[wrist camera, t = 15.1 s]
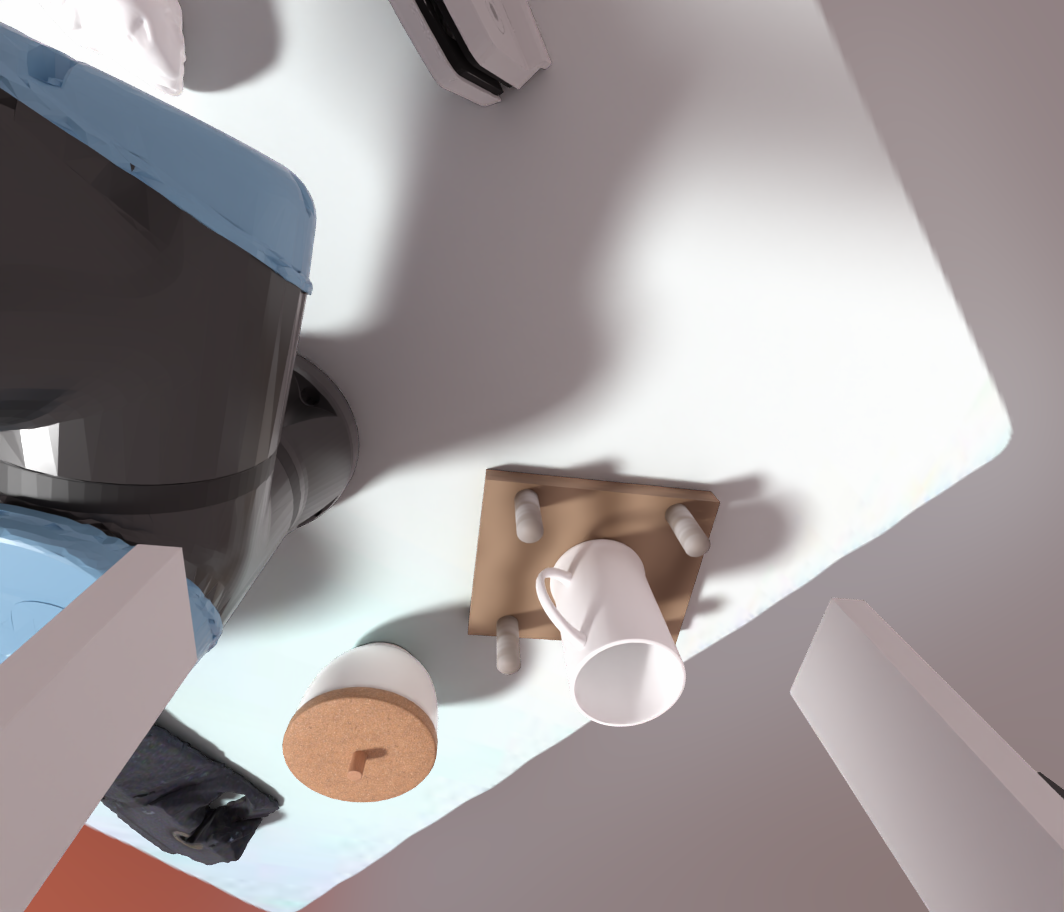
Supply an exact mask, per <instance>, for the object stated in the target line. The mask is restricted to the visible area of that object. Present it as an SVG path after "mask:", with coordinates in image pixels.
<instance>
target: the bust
mask: <svg viewBox="0 0 1064 912" xmlns="http://www.w3.org/2000/svg"><path fill="white" fill-rule="evenodd" d="M38 1H39V2H40V4H41V5H42V6H43V7H44V8H45V9H46V11H47V12H48V13H49V14H50V16H51V17H52V18H53V19H54V20H55V21H56V22H57V23H58V24H59V25H60V26H61V28H62V29H63V30H64V31H65V32H66V33H67V35H69V36H70V37H71V38H72V39H73V40H74V41H75V42H76V43H77V44H79V45H80V46H84V47H87V48H89V49H91V50H93V51H95V52H98V53H101V54H104V55H107V56H109V57H111V58H113V59H114V60H116V61H118V62H119V63H120V64H121V65H122V66H124V67H125V68H126V69H127V70H129V71H130V72H132V73H133V74H135V75H137V76H139V77H140V78H142V79H143V80H145V81H146V82H147V83H149V84H150V85H151V86H153V87H154V88H155V89H157V90H158V91H160V92H162V93H164V94H167V95H169V96H179V95H181V93H182V92H183V87H184V85H183V76H184V62H185V61H186V55H185V44H184V36H183V33H182V10H181V7H180V5H179V2H178V0H38Z"/></svg>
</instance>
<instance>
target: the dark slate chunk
mask: <svg viewBox="0 0 1064 912" xmlns="http://www.w3.org/2000/svg"><path fill="white" fill-rule="evenodd" d="M189 746H190V744H189V743H187V742H181V741H180V740H179V739H178V737H175V736H172V735H171V734H170V733H169V732H168V731H167V730H165V729H163V728H160V727H158V726H156V725H154V724H153V726H152V727H151V728H150V730H149V731H148V733H147V734H146V736H145V737H144V739H143V740H142V741H141V743H140V744H139V746H138V747H137V749H136V750H135V752H134V753H133V754H132V756H131V757H130V759H129V760H128V762H127V763H126V765H125V766H124V767H123V769H122V770H121V772H120V773H119V775H118V776H117V778H116V779H115V780H114V782H113V783H112V785H111V786H110V788H109V789H108V791H107V792H106V793H105V795H104V796H103V798H102V799H101V801H102V802H103V804H104V805H105V806H107V807H108V808H110V810H111V811H113V812H114V813H116V814H117V816H118V818H120V819H122V820H123V821H124V822H125V823H127V824H128V825H129V826H130V827H131V828H132V829H134V830H135V831H137V832H138V833H139V834H141V835H142V836H143V837H144V838H146V839H147V840H148V841H150V842H152V843H153V844H154V845H156V846H157V847H159V848H160V849H161V850H162V851H164V852H167V853H170V854H176V853H178V854H181V855H184V856H188V857H190V858H191V859H193V860H195V861H198V862H201V863H204V864H206V865H213V864H216V863H219V862H226V863H229V862H230V861H237V860H239V858H240V857H241V855H242V854H243V852H244V850H245V848H246V846H247V844H248V842H249V841H250V839H251V838H252V836H253V835H254V833H255V830H256V829H257V827H258V826H259V824H260V823H261V821H262V818H261V817H266V816H268V815H269V814H270V813H273V812H275V810H278V809H279V806H278V802H277V801H275V800H274V799H273V797H272V796H270V795H267V796H266V795H264V794H262V793H261V792H260V791H259V790H258V789H257V788H255V787H254V786H253V785H252V784H251V783H250V782H248V781H247V780H246V779H245V778H244V777H243V776H241V775H238V774H236V773H235V772H234V771H233V770H232V769H230V768H226V767H225V764H222V763H219V762H214V761H211V760H210V759H208V758H207V757H205V756H204V755H203V754H202V753H201V752H200V751H198V750H197V749H194V748H190V747H189ZM224 792H235V793H239V794H244V795H246V796H244V797H242V798H241V799H238V800H236V801H231V802H229V803H227V806H221V807H219V808H217V809H210V807H209V806H208V805H210V804H211V802H212V801H214V800H215V799H216V798H218V797H219V796H220V795H221V794H222V793H224Z"/></svg>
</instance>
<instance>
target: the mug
mask: <svg viewBox="0 0 1064 912" xmlns="http://www.w3.org/2000/svg"><path fill="white" fill-rule="evenodd" d="M545 578H550V589H551V593H552V596H553V598H554V600H555V603H556V607H555V606H554V604H553V602H552V601H551V599H550V597H549V595H548V593H547V590H546V587H545V582H544V580H545ZM536 591H537V595H538V598H539V601H540V603H541V605H542V607H543V609H544V610H545V612H546V614H547V615H548V617H549V618H550V619H551V621H552V622H553V623H554V625H555V626H556V627H557V628H558V629H559V631H560V633H561V639H562V645H563V651H564V657H565V663H566V669H567V675H568V681H569V687H570V693H571V697H572V700H573V702H574V704H575V706H576V707H577V709H578V710H579V711H580V712H581V713H582V714H583V715H584V716H586V717H587V718H589V719H591V720H593V721H595V722H597V723H600V724H604V725H609V726H632V725H637V724H641V723H644V722H647V721H650V720H652V719H654V718H656V717H658V716H660V715H661V714H663V713H664V712H666V711H667V710H668V709H669V708H670V707H671V706H672V705H673V704H674V703H675V702H676V701H677V700H678V698H679V696H680V695H681V693H682V691H683V688H684V685H685V680H686V672H685V667H684V664H683V662H682V659H681V657H680V655H679V652H678V650H677V648H676V645H675V643H674V641H673V639H672V636H671V634H670V632H669V630H668V627H667V625H666V623H665V620H664V618H663V616H662V614H661V611H660V609H659V607H658V604H657V602H656V600H655V598H654V595H653V593H652V591H651V588H650V586H649V584H648V582H647V579H646V577H645V570H644V566H643V563H642V561H641V559H640V558H639V556H638V555H637V554H636V553H635V552H634V551H633V550H632V549H631V548H630V547H628V546H627V545H625V544H623V543H620V542H617V541H614V540H608V539H596V540H589V541H586V542H582V543H580V544H578V545H576V546H574V547H572V548H570V549H569V550H568V551H566V552H565V553H564V554H563V555H562V556H561V557H560V558H559V559H558V561H557V562H556V564H555V566H554V567H549V568H546V569H544V570H542V571H541V572H540V573H539V575H538V577H537V579H536Z"/></svg>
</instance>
